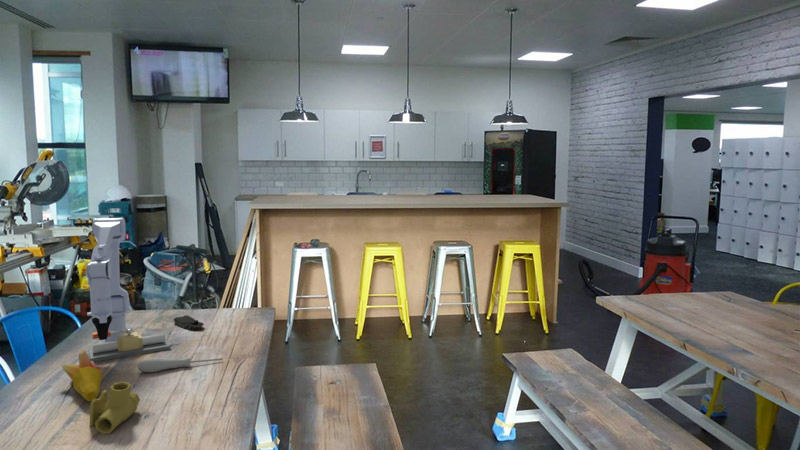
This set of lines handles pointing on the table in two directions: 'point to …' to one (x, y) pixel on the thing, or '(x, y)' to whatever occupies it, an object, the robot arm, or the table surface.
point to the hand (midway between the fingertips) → (103, 339)
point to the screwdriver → (166, 363)
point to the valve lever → (114, 332)
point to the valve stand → (128, 346)
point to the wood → (188, 323)
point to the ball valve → (113, 407)
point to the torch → (84, 376)
